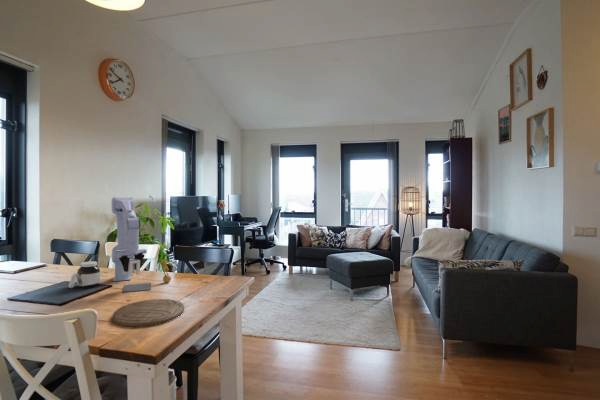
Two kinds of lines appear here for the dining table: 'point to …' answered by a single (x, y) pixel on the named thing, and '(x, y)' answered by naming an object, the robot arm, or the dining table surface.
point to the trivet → (148, 312)
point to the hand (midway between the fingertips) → (131, 270)
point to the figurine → (166, 277)
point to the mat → (136, 287)
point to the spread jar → (86, 275)
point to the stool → (133, 267)
